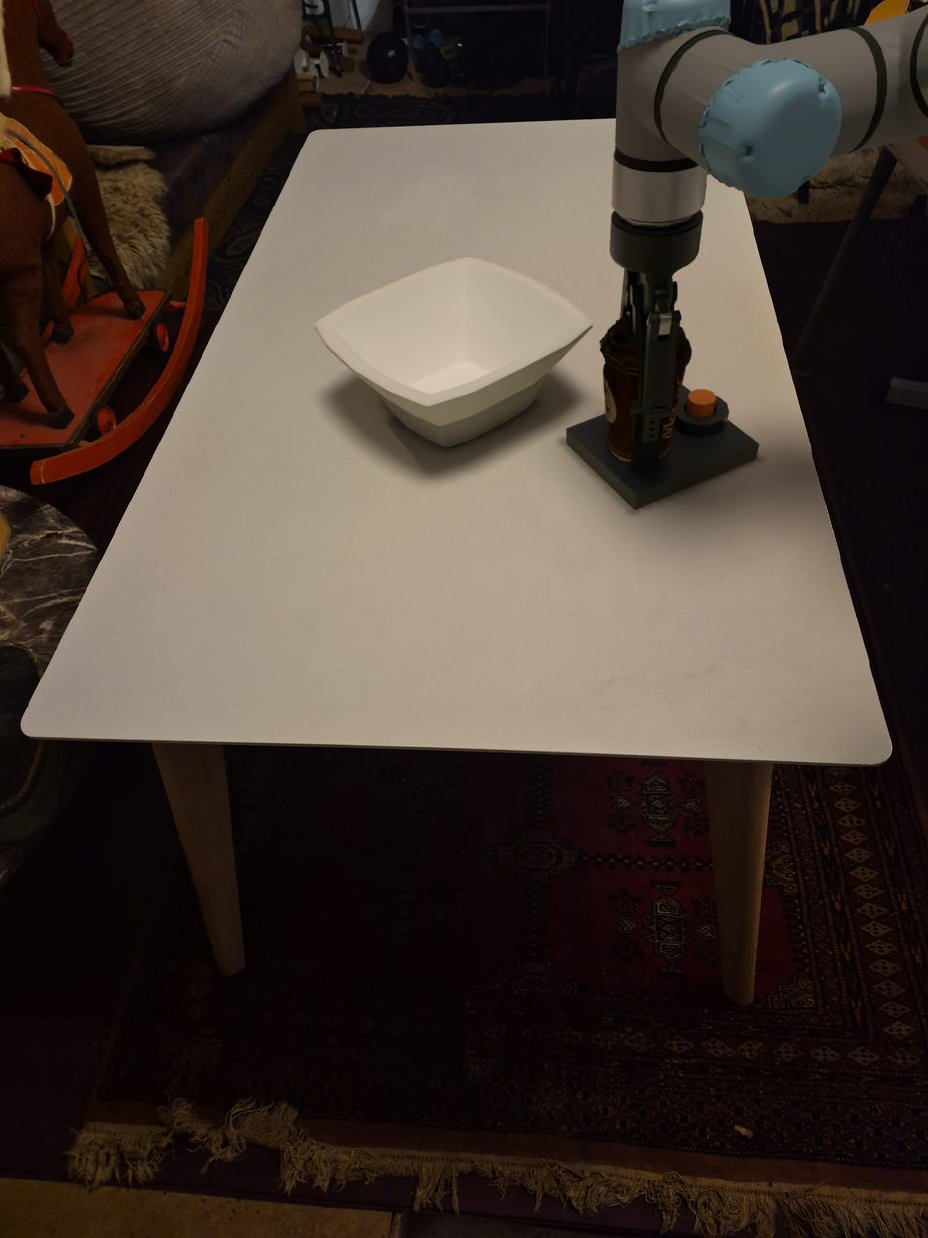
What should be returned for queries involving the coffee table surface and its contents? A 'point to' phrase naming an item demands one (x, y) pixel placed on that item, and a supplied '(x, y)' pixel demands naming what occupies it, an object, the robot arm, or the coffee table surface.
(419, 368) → the bowl
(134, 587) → the coffee table surface
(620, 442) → the coffee cup
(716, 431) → the scale
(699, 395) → the button
